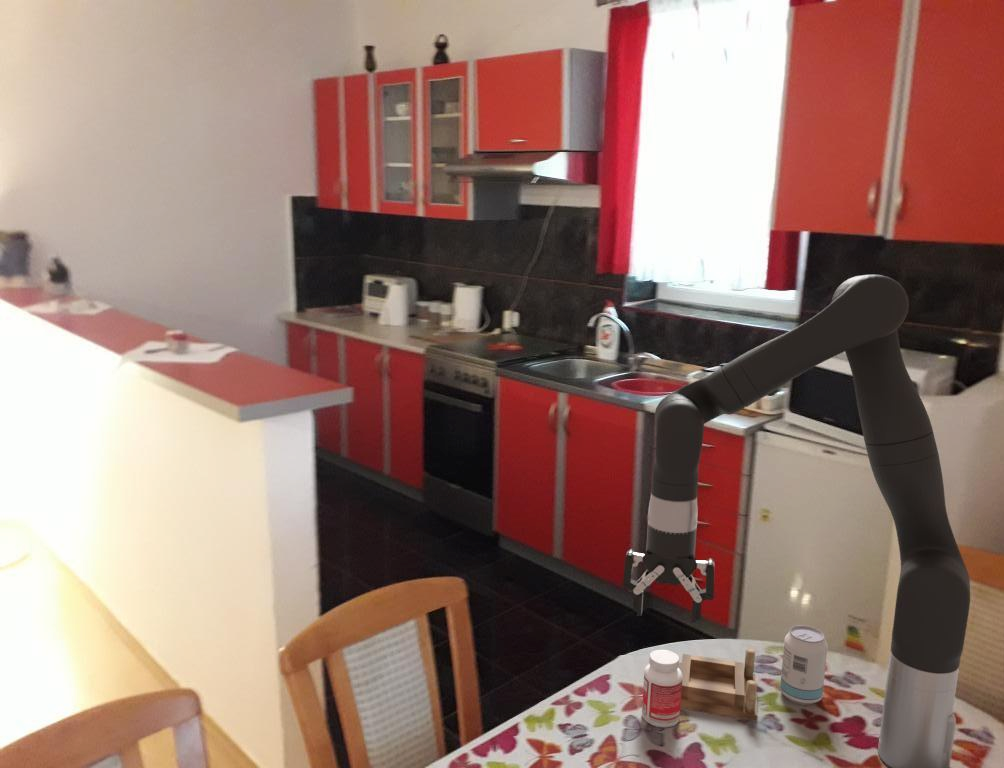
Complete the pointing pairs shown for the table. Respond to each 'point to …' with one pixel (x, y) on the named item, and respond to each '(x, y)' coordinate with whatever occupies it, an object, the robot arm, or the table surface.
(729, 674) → the holder
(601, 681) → the table surface
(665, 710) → the pill bottle
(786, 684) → the beverage can
